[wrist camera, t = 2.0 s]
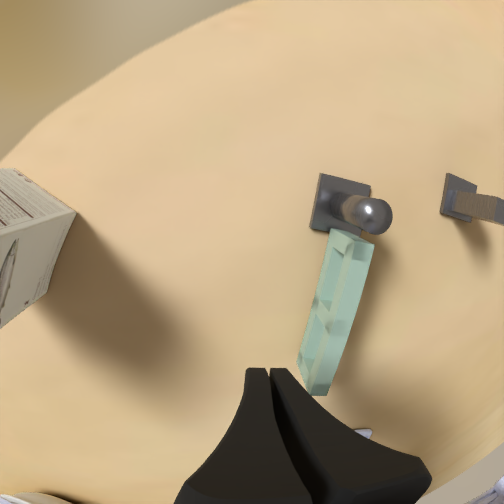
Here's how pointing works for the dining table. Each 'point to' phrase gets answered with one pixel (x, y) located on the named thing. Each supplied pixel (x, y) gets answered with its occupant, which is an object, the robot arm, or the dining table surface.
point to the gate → (333, 309)
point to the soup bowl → (33, 498)
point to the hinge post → (348, 207)
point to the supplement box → (27, 241)
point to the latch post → (470, 202)
